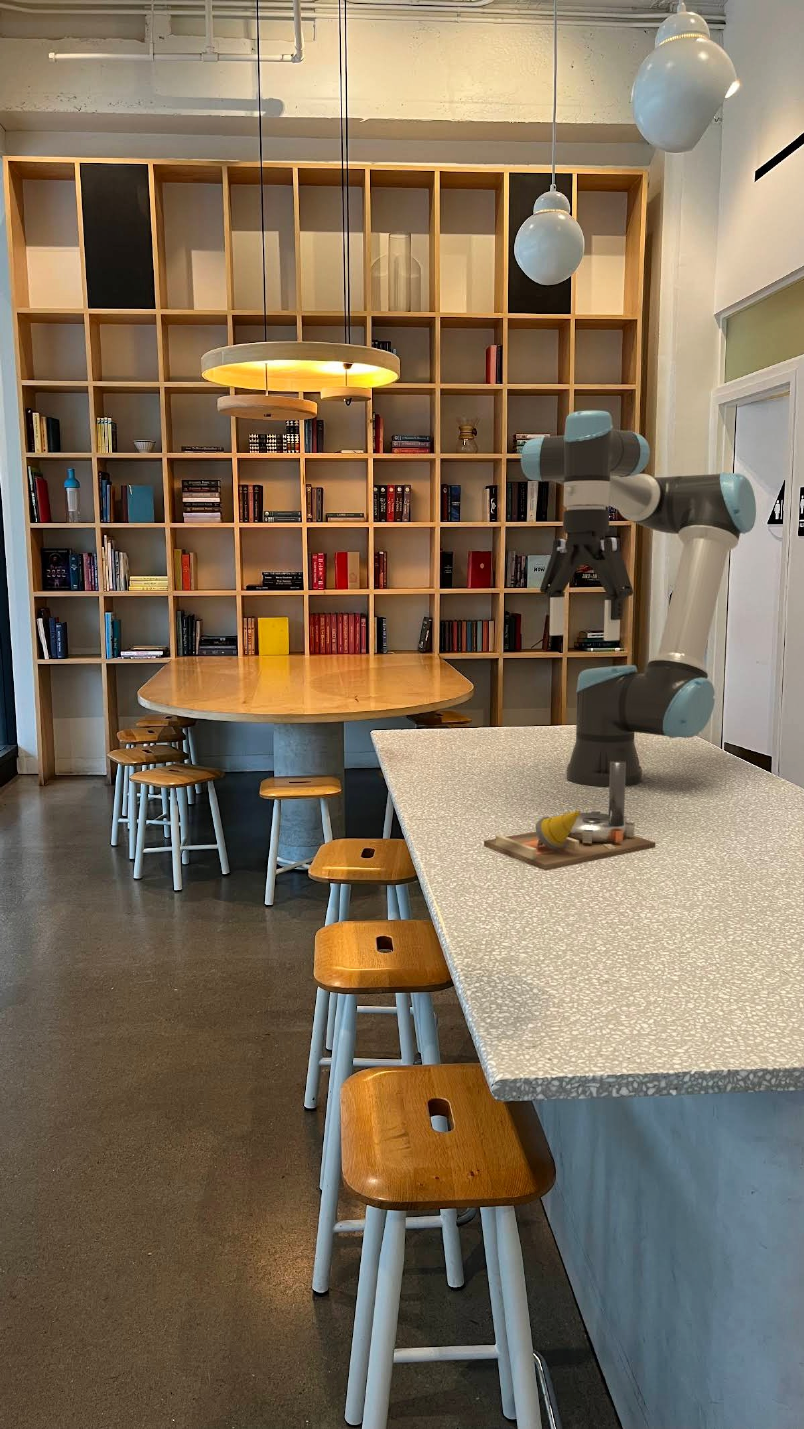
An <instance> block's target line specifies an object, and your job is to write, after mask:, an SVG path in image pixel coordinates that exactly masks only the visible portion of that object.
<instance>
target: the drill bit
mask: <svg viewBox="0 0 804 1429" xmlns="http://www.w3.org/2000/svg"><path fill="white" fill-rule="evenodd" d="M571 812H572V811H571ZM580 813H582V810H577V811H573V812H572V813H568V814H564V815H563V814H560V815H557V816H552V818H551V816H543V817H541V818H540V819H539V820H538V821H536V824H535V832H536V833H537V835H538V837H539V841H538V844H537V846H541V845H543V844H544V845H545V846H546V847H548V848H549V849H551V850H555V851H558V850H560V849H561V848H563V847H564V846H565V845H566V843H567V837H568V835H569V833H570V831H571V829H572V827H573V825H574V823H575V822H576V818H578V816H579V814H580Z"/></svg>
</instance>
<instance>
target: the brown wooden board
mask: <svg viewBox="0 0 804 1429" xmlns="http://www.w3.org/2000/svg"><path fill="white" fill-rule="evenodd" d="M538 841H539V837H538V835H537V833H536V831H530V832H525V833H520V834H515V835H509V836H508V835H507V836H504V835H501V834H498V835H495V838H491V839H487V840H485V839H484V840H483V846H484V848H488V849H490V850H493V851H495V852H498V853H500V854H501V855H502V854H503V855H506V856H507V857H510V858H513V859H515V860H518V861H520V862H523V863H524V864H528V865H530V866H533V867H535V868H538V869H541V870H543V871H550V870H553V869H558V868H563V867H568V866H574V865H578V864H583V863H587V862H592V861H596V860H601V859H602V860H603V859H606V858H611V857H615V856H620V855H625V854H629V853H630V854H631V853H635V852H639V851H644V850H649V849H654V848H656V841H655V842H654V841H652V840H648V839H645V838H642V837H639V836H636V835H634V836H625V837H624V838H623V841H622V842H616V843H615V842H612V841H602V842H594V841H593V842H592V843H583V841H581V840H575V839H572V838H569V837H567V843H566V845H565V846H564V847H563V848H561V849H560V850H558V851H555V850H551V849H549V848H548V847H546V846H545V845H544V844H543V845H541V846H537V844H538Z"/></svg>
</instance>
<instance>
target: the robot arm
mask: <svg viewBox="0 0 804 1429" xmlns="http://www.w3.org/2000/svg"><path fill="white" fill-rule="evenodd" d="M612 418H613V417H612V415H611V413H610V412H608V411H605V410H578V411H573V412H570V413H569V414H568V415H567V416H566V418H565V426H564V427H565V428H564V435H563V434H562V435H553V436H546V435H544V436H542V437H535V438H530V439H529V440H528V441H527V442H525V444H524V445H523V448H522V450H521V456H520V465H521V469H522V470H521V471H522V473H523V475H525V477H526V478H527V479H529V480H531V481H540V482H545V481H547V480H548V481H553V482H555V483H558V484H560V485H562V486H563V506H564V507H565V508H566V509H567V510H564V512H562V531H563V533H565V534H566V538H555V539H553V540H552V552H551V555H550V558H549V561H548V563H547V568H546V570H545V573H544V576H543V579H542V581H541V585H540V588H539V591H540V593H541V594H545V595H546V596H547V597H548V616H549V636H551V637H553V636H563V635H564V636H565V626H566V625H565V623H566V622H565V620H566V619H565V618H566V597H565V594H564V592H565V590H566V588H567V587H568V585H569V583H570V581H571V579H572V578H573V576H574V574H575V572H576V571H577V570H578V569H579V568H580V567H588V566H589V567H590V568H591V569H592V570H593V571H594V573H595V575H596V577H597V578H598V580H599V582H600V584H601V586H602V588H603V589H604V592H605V593H606V595H607V596H606V598H605V600H604V615H603V616H604V619H603V620H604V622H603V624H604V625H603V641H606V642H607V641H609V642H610V641H620V636H621V635H620V632H621V631H620V630H621V620H622V619H623V602H624V600H625V598H627V597H631V596H633V595H634V589H633V587H632V583H631V579H630V577H629V574H628V571H627V570H628V569H627V567H626V563H625V562H624V558H623V556H622V555H623V554H622V552H621V539H620V538H619V537H606V536H605V535H606V533H608V532H609V531H610V511H609V510H608V509H607V507H611V508H614V509H616V510H618V512H619V514H620V515H621V516H622V518H624V519H625V520H628V521H630V522H632V523H635V524H637V525H640V526H641V527H642V526H643V527H645V528H647V529H650V530H653V531H657V532H660V533H665V534H672V535H673V534H674V535H676V534H677V537H678V538H679V540H680V541H681V543H682V544H683V547H682V551H681V555H680V559H679V564H678V568H677V571H676V576H675V580H674V584H673V589H672V593H671V597H670V602H669V606H668V610H667V614H666V619H665V622H664V627H663V631H662V636H661V640H660V645H659V647H658V652H657V655H656V656H655V657H653V658H651V659H650V660H648V662H647V664H646V669H645V673H638V668H637V666H636V665H635V664H633V665H631V664H630V665H629V664H628V665H613V666H605V667H603V666H601V667H595V668H586V669H584V670H582V671H581V672H579V674H578V677H577V683H576V685H577V686H576V691H575V693H576V725H575V726H576V729H575V734H576V735H575V743H574V746H573V750H572V753H571V756H570V759H569V760H570V761H569V763H568V764H567V766H566V779H567V780H568V781H570V782H571V783H575V784H579V785H585V786H591V787H592V786H594V787H604V788H605V787H609V784H610V762H611V761H624V762H626V772H625V787H628V786H633V785H637V784H640V783H642V781H643V768H642V766H641V765H640V760H639V756H638V752H637V748H636V745H635V733H638V734H644V735H645V734H646V735H653V736H662V737H663V736H664V737H668V738H670V739H671V738H673V739H674V738H684V739H685V738H686V739H688V738H689V739H690V738H693V737H696V736H697V735H699V733H701V732H702V731H704V729H705V728H706V726H707V724H708V723H709V721H710V719H711V717H712V714H713V710H714V707H715V698H714V696H715V694H716V693H715V688H714V685H713V683H712V682H711V681H710V680H709V679H708V677H709V672H708V671H707V669H706V668H705V666H704V665H703V663H704V658H705V654H706V650H707V644H708V641H709V640H708V639H709V636H710V631H711V627H712V623H713V619H714V614H715V610H716V605H717V601H718V598H719V597H718V596H719V591H720V588H721V584H722V583H721V582H722V580H723V579H722V578H723V574H724V570H725V566H726V561H727V557H728V554H729V553H728V552H731V550H733V549H736V547H737V546H738V544H739V540H740V536H741V534H743V535H744V534H745V535H746V534H747V533H750V532H751V531H752V529H753V528H754V526H755V523H756V519H757V518H756V517H757V502H756V496H755V493H754V489H753V486H752V484H751V482H750V479H748V477H746V476H745V475H744V474H742V473H737V472H734V473H733V472H731V473H726V472H721V473H715V474H697V475H675V476H674V475H673V476H659V477H658V476H651V475H649V474H647V473H642V472H643V471H644V469H645V468H647V466H648V463H649V461H650V455H651V451H650V450H651V449H650V445H649V443H648V441H647V439H645V437H643V435H641V434H639V433H637V432H634V431H631V430H622V429H617V428H616V429H615V428H614V425H613V420H612Z"/></svg>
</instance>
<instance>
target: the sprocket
mask: <svg viewBox="0 0 804 1429" xmlns="http://www.w3.org/2000/svg"><path fill="white" fill-rule="evenodd" d="M625 772H626V762H624V761H611V762H610V784H609V789H608V790H609V794H608V813H601V811H594V810H593V811H591V812H580V814H579V816H578V818H576V822H575V823H574V825H573V827H572V829H571V831H570V833H569V835H568V837H569V838H572V839H575V840H581V841H583V843H592V842H593V841H594V842H602V841H612V842H615V843H616V842H622V841H623V838H624V837H625V836H635V822H628V817H627V816H625V805H626V804H625V798H626V786H625ZM568 813H572V811H566V812H563V813H562V815H564V814H568ZM552 817H553V816H552ZM552 817H551V816H550V818H552Z"/></svg>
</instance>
